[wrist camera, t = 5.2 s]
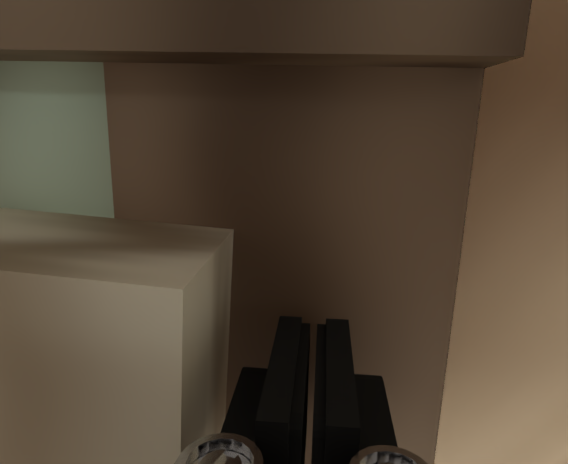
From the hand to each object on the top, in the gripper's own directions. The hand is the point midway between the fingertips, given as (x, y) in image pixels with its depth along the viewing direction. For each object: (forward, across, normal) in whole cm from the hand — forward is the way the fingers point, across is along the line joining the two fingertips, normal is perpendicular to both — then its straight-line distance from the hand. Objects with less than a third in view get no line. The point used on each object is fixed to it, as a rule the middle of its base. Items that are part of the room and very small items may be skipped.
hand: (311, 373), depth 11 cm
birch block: (+1, +5, 0) cm, 5 cm away
